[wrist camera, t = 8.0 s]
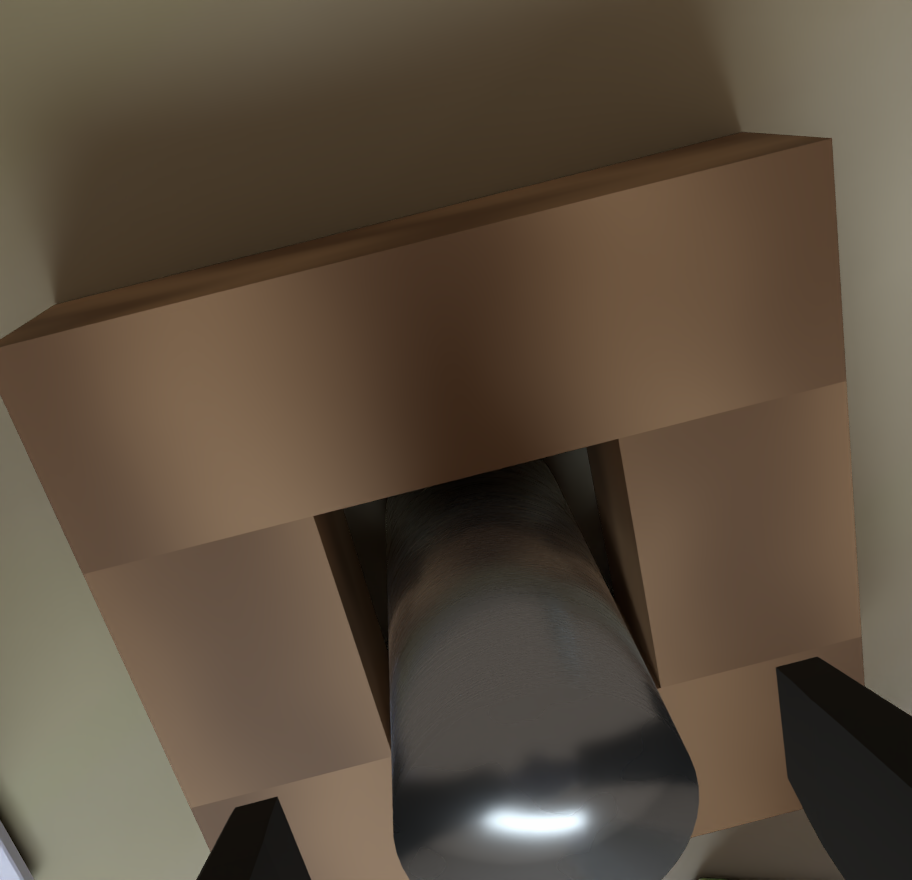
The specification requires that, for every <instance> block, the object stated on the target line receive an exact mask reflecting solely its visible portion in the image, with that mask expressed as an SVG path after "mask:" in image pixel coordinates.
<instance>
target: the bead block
mask: <svg viewBox="0 0 912 880" xmlns="http://www.w3.org/2000/svg"><path fill="white" fill-rule="evenodd" d="M0 395H1V397H2V399H3V401H4V403H5V406H6V408H7V410H8V412H9V414H10V417H11V419H12V421H13V423H14V425H15V427H16V430H17V432H18V434H19V436H20V438H21V440H22V443H23V445H24V447H25V449H26V451H27V453H28V456H29V458H30V460H31V462H32V464H33V467H34V469H35V471H36V473H37V475H38V477H39V480H40V482H41V484H42V486H43V488H44V490H45V493H46V495H47V497H48V499H49V501H50V504H51V506H52V508H53V510H54V512H55V514H56V517H57V519H58V521H59V523H60V525H61V527H62V530H63V532H64V534H65V536H66V538H67V540H68V543H69V545H70V547H71V549H72V551H73V554H74V556H75V558H76V560H77V562H78V564H79V567H80V569H81V571H82V573H83V575H84V577H85V580H86V582H87V584H88V586H89V588H90V591H91V593H92V595H93V597H94V599H95V601H96V604H97V606H98V608H99V610H100V612H101V614H102V617H103V619H104V621H105V623H106V625H107V627H108V630H109V632H110V634H111V636H112V638H113V641H114V643H115V645H116V647H117V649H118V651H119V654H120V656H121V658H122V660H123V662H124V664H125V667H126V669H127V671H128V673H129V675H130V678H131V680H132V682H133V684H134V686H135V688H136V691H137V693H138V695H139V697H140V699H141V701H142V704H143V706H144V708H145V710H146V712H147V715H148V717H149V719H150V721H151V723H152V725H153V728H154V730H155V732H156V734H157V736H158V738H159V741H160V743H161V745H162V747H163V749H164V751H165V754H166V756H167V758H168V760H169V762H170V765H171V767H172V769H173V771H174V773H175V775H176V778H177V780H178V782H179V784H180V786H181V788H182V791H183V793H184V795H185V797H186V799H187V802H188V804H189V806H190V808H191V810H192V812H193V815H194V817H195V819H196V821H197V823H198V825H199V828H200V830H201V832H202V834H203V836H204V838H205V841H206V843H207V845H208V847H209V849H210V852H211V851H212V849H213V847H214V845H215V843H216V841H217V839H218V837H219V836H220V834H221V832H222V830H223V828H224V826H225V824H226V822H227V820H228V819H229V817H230V815H231V813H232V812H233V810H234V809H235V807H239V806H243V805H246V804H250V803H254V802H258V801H262V800H266V799H270V798H273V797H277V796H278V799H279V801H280V804H281V806H282V809H283V811H284V814H285V816H286V819H287V821H288V823H289V826H290V828H291V831H292V833H293V836H294V838H295V841H296V843H297V846H298V848H299V851H300V853H301V856H302V858H303V860H304V863H305V865H306V868H307V870H308V873H309V875H310V878H311V880H409V878H408V876H407V875H406V873H405V871H404V870H403V868H402V866H401V863H400V860H399V858H398V855H397V853H396V848H395V843H394V838H393V807H392V764H391V722H390V680H389V654H388V651H387V648H386V645H385V642H384V639H383V635H382V632H381V629H380V626H379V623H378V620H377V616H376V613H375V610H374V607H373V604H372V601H371V597H370V594H369V591H368V588H367V585H366V581H365V578H364V575H363V572H362V569H361V566H360V562H359V559H358V556H357V553H356V550H355V547H354V543H353V540H352V537H351V534H350V531H349V528H348V524H347V521H346V518H345V515H344V512H343V508H347V507H351V506H355V505H359V504H363V503H367V502H371V501H375V500H379V499H383V498H387V497H390V496H394V495H398V494H402V493H406V492H410V491H414V490H418V489H422V488H426V487H430V486H434V485H438V484H442V483H446V482H450V481H454V480H458V479H462V478H465V477H469V476H473V475H477V474H481V473H485V472H489V471H493V470H497V469H501V468H505V467H509V466H513V465H517V464H521V463H525V462H529V461H533V460H537V459H540V458H544V457H548V456H552V455H556V454H560V453H564V452H568V451H572V450H576V449H580V448H584V447H587V452H588V457H589V463H590V468H591V473H592V479H593V484H594V489H595V495H596V500H597V505H598V511H599V516H600V521H601V527H602V532H603V537H604V543H605V548H606V553H607V559H608V564H609V569H610V575H611V580H612V585H613V591H614V597H613V599H614V601H615V603H616V605H617V608H618V610H619V612H620V614H621V616H622V618H623V620H624V622H625V624H626V626H627V628H628V630H629V632H630V634H631V636H632V638H633V640H634V642H635V645H636V647H637V649H638V651H639V653H640V655H641V657H642V659H643V661H644V663H645V665H646V667H647V669H648V671H649V673H650V675H651V677H652V679H653V682H654V684H655V686H656V688H657V690H658V692H659V694H660V696H661V698H662V700H663V702H664V704H665V706H666V708H667V710H668V712H669V714H670V717H671V719H672V721H673V723H674V725H675V727H676V729H677V731H678V733H679V735H680V737H681V739H682V741H683V743H684V745H685V747H686V749H687V751H688V754H689V756H690V758H691V761H692V763H693V766H694V768H695V771H696V775H697V780H698V785H699V807H698V815H697V820H696V823H695V826H694V830H693V833H692V835H691V837H690V838H692V837H696V836H700V835H704V834H707V833H711V832H715V831H719V830H723V829H727V828H731V827H735V826H739V825H742V824H746V823H750V822H754V821H758V820H762V819H766V818H770V817H774V816H777V815H781V814H785V813H789V812H793V811H797V810H801V809H803V807H802V805H801V803H800V801H799V799H798V797H797V795H796V793H795V792H794V790H793V788H792V786H791V784H790V782H789V780H788V778H787V769H786V759H785V750H784V741H783V732H782V722H781V713H780V704H779V694H778V685H777V676H776V667H779V666H782V665H786V664H790V663H794V662H798V661H802V660H806V659H809V658H813V657H817V656H818V657H819V658H821V659H822V660H824V661H826V662H827V663H829V664H830V665H832V666H834V667H835V668H837V669H838V670H840V671H841V672H843V673H845V674H846V675H848V676H849V677H851V678H852V679H854V680H855V681H857V682H858V683H860V684H862V685H863V686H865V685H864V669H863V652H862V635H861V618H860V602H859V585H858V568H857V551H856V535H855V518H854V501H853V484H852V468H851V451H850V434H849V417H848V401H847V384H846V367H845V350H844V334H843V317H842V300H841V283H840V267H839V250H838V233H837V216H836V200H835V183H834V166H833V149H832V138H821V137H806V136H792V135H777V134H763V133H748V132H741V133H737V134H733V135H729V136H725V137H721V138H717V139H713V140H709V141H705V142H701V143H697V144H693V145H689V146H685V147H681V148H677V149H673V150H669V151H665V152H661V153H657V154H654V155H650V156H646V157H642V158H638V159H634V160H630V161H626V162H622V163H618V164H614V165H610V166H606V167H602V168H598V169H594V170H590V171H586V172H582V173H578V174H574V175H570V176H566V177H562V178H558V179H554V180H550V181H546V182H542V183H538V184H534V185H530V186H526V187H522V188H518V189H514V190H510V191H506V192H502V193H498V194H494V195H490V196H486V197H482V198H478V199H474V200H470V201H466V202H462V203H458V204H454V205H450V206H446V207H442V208H438V209H434V210H430V211H426V212H422V213H418V214H414V215H410V216H406V217H402V218H398V219H394V220H390V221H387V222H383V223H379V224H375V225H371V226H367V227H363V228H359V229H355V230H351V231H347V232H343V233H339V234H335V235H331V236H327V237H323V238H319V239H315V240H311V241H307V242H303V243H299V244H295V245H291V246H287V247H283V248H279V249H275V250H271V251H267V252H263V253H259V254H255V255H251V256H247V257H243V258H239V259H235V260H231V261H227V262H223V263H219V264H215V265H211V266H207V267H203V268H199V269H195V270H191V271H187V272H183V273H179V274H175V275H171V276H167V277H163V278H159V279H155V280H151V281H147V282H143V283H139V284H135V285H131V286H127V287H123V288H119V289H116V290H112V291H108V292H104V293H100V294H96V295H92V296H88V297H84V298H80V299H76V300H72V301H68V302H64V303H60V304H56V305H53V306H52V307H50V308H49V309H47V310H46V311H44V312H43V313H41V314H39V315H38V316H36V317H35V318H33V319H32V320H30V321H29V322H27V323H25V324H24V325H22V326H21V327H19V328H18V329H16V330H14V331H13V332H11V333H10V334H8V335H7V336H5V337H4V338H2V339H0Z"/></svg>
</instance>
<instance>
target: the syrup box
mask: <svg viewBox="0 0 912 880" xmlns="http://www.w3.org/2000/svg"><path fill="white" fill-rule="evenodd" d="M698 880H726V879H706V878H700V879H698Z"/></svg>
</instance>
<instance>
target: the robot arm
mask: <svg viewBox="0 0 912 880" xmlns="http://www.w3.org/2000/svg"><path fill="white" fill-rule="evenodd" d="M776 676H777V685H778V694H779V704H780V713H781V722H782V732H783V741H784V750H785V759H786V769H787V778H788V780H789V782H790V784H791V786H792V788H793V790H794V792H795V793H796V795H797V797H798V799H799V801H800V803H801V805H802V807H803V809H804V811H805V813H806V815H807V817H808V819H809V821H810V823H811V824H812V826H813V828H814V830H815V832H816V834H817V836H818V838H819V839H820V841H821V843H822V845H823V847H824V848H825V850H826V851H827V853H828V854H829V856H830V857H831V859H832V861H833V862H834V864H835V865H836V867H837V868H838V870H839V871H840V873H841V874H842V876H843V877H844V879H845V880H912V716H910V715H909V714H907V713H905V712H904V711H902V710H901V709H899V708H898V707H896V706H894V705H893V704H891V703H890V702H888V701H887V700H885V699H883V698H882V697H880V696H879V695H877V694H876V693H874V692H872V691H871V690H869V689H868V688H866V687H865V686H863V685H862V684H860V683H858V682H857V681H855V680H854V679H852V678H851V677H849V676H848V675H846V674H845V673H843V672H841V671H840V670H838V669H837V668H835V667H834V666H832V665H830V664H829V663H827V662H826V661H824V660H822V659H821V658H819V657H818V656H817V657H813V658H809V659H806V660H802V661H798V662H794V663H790V664H786V665H782V666H779V667H776ZM0 880H34V878H33V876H32V875H31V873H30V871H29V869H28V868H27V866H26V864H25V862H24V861H23V859H22V857H21V855H20V854H19V852H18V850H17V849H16V847H15V845H14V843H13V842H12V840H11V838H10V836H9V835H8V833H7V831H6V829H5V828H4V826H3V824H2V822H1V821H0ZM196 880H311V878H310V875H309V873H308V870H307V868H306V865H305V863H304V860H303V858H302V856H301V853H300V851H299V848H298V846H297V843H296V841H295V838H294V836H293V833H292V831H291V828H290V826H289V823H288V821H287V819H286V816H285V814H284V811H283V809H282V806H281V804H280V801H279V799H278V796H277V797H273V798H270V799H266V800H262V801H258V802H254V803H250V804H246V805H243V806H239V807H235V809H234V810H233V812H232V813H231V815H230V817H229V819H228V820H227V822H226V824H225V826H224V828H223V830H222V832H221V834H220V836H219V837H218V839H217V841H216V843H215V845H214V847H213V849H212V851H211V853H210V855H209V857H208V859H207V860H206V862H205V864H204V866H203V868H202V870H201V872H200V874H199V876H198V878H197V879H196Z"/></svg>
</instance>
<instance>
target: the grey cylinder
mask: <svg viewBox="0 0 912 880" xmlns="http://www.w3.org/2000/svg"><path fill="white" fill-rule="evenodd" d="M386 554H387V596H388V638H389V680H390V722H391V764H392V807H393V838H394V843H395V848H396V853H397V855H398V858H399V860H400V863H401V866H402V868H403V870H404V871H405V873H406V875H407V876H408V878H409V880H661V879H662V878H663V877H664V876H665V875H666V874H667V873H668V872H669V871H670V869H671V868H672V867H673V866H674V865H675V863H676V862H677V861H678V859H679V858H680V856H681V854H682V853H683V851H684V850H685V848H686V846H687V844H688V842H689V840H690V837H691V835H692V833H693V830H694V826H695V823H696V820H697V815H698V807H699V785H698V780H697V775H696V771H695V768H694V766H693V763H692V761H691V758H690V756H689V754H688V751H687V749H686V747H685V745H684V743H683V741H682V739H681V737H680V735H679V733H678V731H677V729H676V727H675V725H674V723H673V721H672V719H671V717H670V714H669V712H668V710H667V708H666V706H665V704H664V702H663V700H662V698H661V696H660V694H659V692H658V690H657V688H656V686H655V684H654V682H653V679H652V677H651V675H650V673H649V671H648V669H647V667H646V665H645V663H644V661H643V659H642V657H641V655H640V653H639V651H638V649H637V647H636V645H635V642H634V640H633V638H632V636H631V634H630V632H629V630H628V628H627V626H626V624H625V622H624V620H623V618H622V616H621V614H620V612H619V610H618V608H617V605H616V603H615V601H614V599H613V597H612V595H611V593H610V591H609V589H608V587H607V585H606V583H605V581H604V579H603V577H602V575H601V573H600V571H599V568H598V566H597V564H596V562H595V560H594V558H593V556H592V554H591V552H590V550H589V548H588V546H587V544H586V542H585V540H584V538H583V536H582V534H581V531H580V529H579V527H578V525H577V523H576V521H575V519H574V517H573V515H572V513H571V511H570V509H569V507H568V505H567V503H566V501H565V499H564V496H563V494H562V492H561V490H560V488H559V486H558V484H557V482H556V480H555V478H554V476H553V474H552V473H551V471H550V469H549V468H548V466H547V465H546V464H545V462H544V461H543V460H542V459H541V458H540V459H537V460H533V461H529V462H525V463H521V464H517V465H513V466H509V467H505V468H501V469H497V470H493V471H489V472H485V473H481V474H477V475H473V476H469V477H465V478H462V479H458V480H454V481H450V482H446V483H442V484H438V485H434V486H430V487H426V488H422V489H418V490H414V491H410V492H406V493H402V494H398V495H394V496H390V497H388V500H387V505H386Z"/></svg>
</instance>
